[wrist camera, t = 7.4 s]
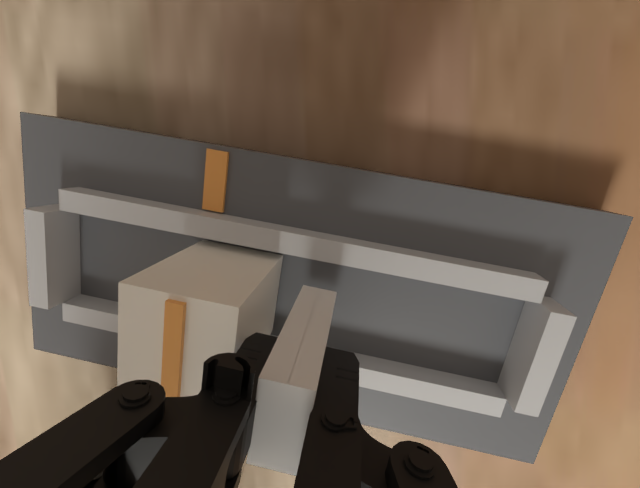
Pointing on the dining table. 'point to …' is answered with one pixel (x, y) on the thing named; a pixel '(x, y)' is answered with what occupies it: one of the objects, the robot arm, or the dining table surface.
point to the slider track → (332, 270)
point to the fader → (193, 312)
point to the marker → (215, 180)
